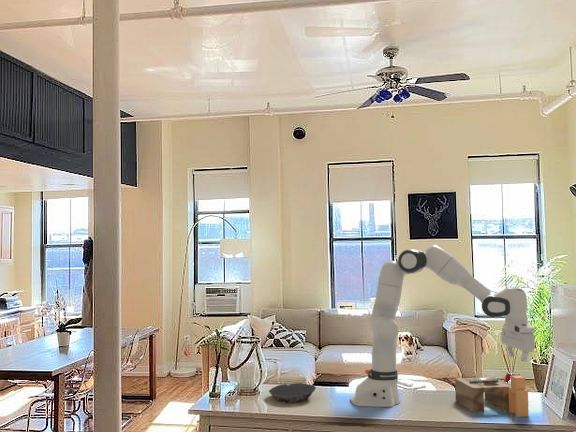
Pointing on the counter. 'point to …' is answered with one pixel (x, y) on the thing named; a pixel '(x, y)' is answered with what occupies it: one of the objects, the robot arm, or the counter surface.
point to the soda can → (507, 376)
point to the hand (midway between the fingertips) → (517, 358)
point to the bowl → (292, 392)
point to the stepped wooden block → (518, 397)
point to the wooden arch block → (482, 392)
